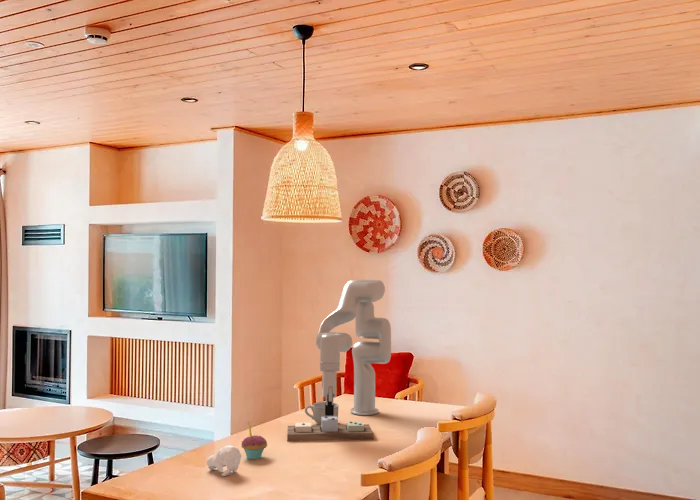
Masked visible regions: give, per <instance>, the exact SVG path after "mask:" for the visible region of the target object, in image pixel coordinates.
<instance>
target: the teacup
mask: <svg viewBox="0 0 700 500" xmlns="http://www.w3.org/2000/svg"><path fill="white" fill-rule="evenodd" d="M325 404H326V401H319V402H318V401H317V402H315V403H313V404H312V405H311V404H310V405H309V404H308V405H306V406H305V407H304V413H305V414H306V416H308V417H309V418H311V420H313V421H315V423H316V424H317V425H321V417H337V419H338V418H339V404H338V403H336V402H333V404H334V415H333V416H326V415H325ZM308 409H310V410H311V412H312V414H310V413H309V412H308ZM338 420H339V419H338Z"/></svg>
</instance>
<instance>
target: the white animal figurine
mask: <svg viewBox="0 0 700 500" xmlns="http://www.w3.org/2000/svg"><path fill="white" fill-rule="evenodd" d="M241 459H242V453H241V451H240V450H239V447H236V446H233V445H226V446H223V447H221V448H220V449H218V451H217V452H216V453H215V454H212V455H210V456H208V458H207V459H206V465H207V468H208V469H209V470H210V472H211V471H215V470H216V469H217V470H218V471H220V472H222V471H223V470H224V467H226V470H224V471H223V473H221V476H222V477H226V476H230V474H231V472H232V473H233V474H234V473H237V471H238V469H239V467H240V466H239V465H240V464H241Z"/></svg>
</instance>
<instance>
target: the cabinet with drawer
mask: <svg viewBox="0 0 700 500" xmlns="http://www.w3.org/2000/svg"><path fill="white" fill-rule="evenodd" d="M363 424H364V423H363ZM286 432H287V433H286V434H287V435H286V439H287V442H309V441H310V442H313V441H314V442H316V441H320V442H322V441H323V442H324V441H326V442H327V441H368V440H370V441H373V440H374V432H373V430H372V427H371V426H370V424H369V423H368V424H364V431H347V424H338V431H336V432H322V429H321V425H319V424H317V425H316V424H315V425H314V424H313V425H312V424H311V432H295V425H287V431H286Z"/></svg>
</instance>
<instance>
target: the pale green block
mask: <svg viewBox="0 0 700 500" xmlns="http://www.w3.org/2000/svg"><path fill="white" fill-rule="evenodd" d="M346 425H347V431H364V422H363V421H347V422H346Z"/></svg>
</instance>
